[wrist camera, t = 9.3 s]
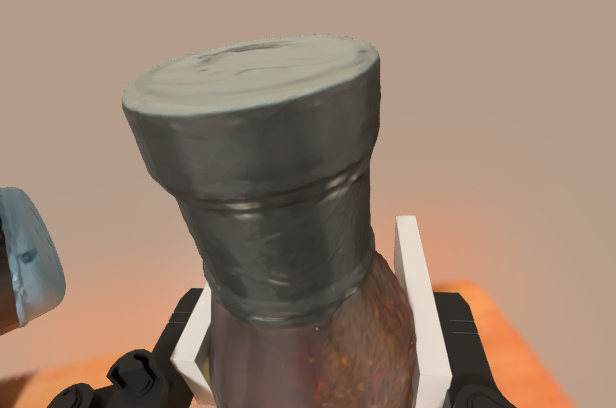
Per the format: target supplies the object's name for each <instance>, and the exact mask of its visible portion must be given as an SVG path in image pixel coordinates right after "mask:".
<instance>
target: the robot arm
mask: <svg viewBox="0 0 616 408" xmlns="http://www.w3.org/2000/svg"><path fill="white" fill-rule="evenodd" d="M394 268H395V276H396V277H397V278H398V281H399V283H400V286H401V287H402V288H403V290H404V291H405V292H406V295H407V298H408V301H409V304H410V307H411V309H412V311H413V317H414V323H415V334H416V337H417V342H416V352H417V361H416V364H415V372H414V376H413V378H412V386H413V406H412V408H517V407H515V406H514V405H513V404H511V403H510V402H509V401H508V400H507V399H506V398H505V397H504V396H503V395H502V394H501V392H500V391H499V389H498V388H497V386H496V384H495V382H494V379H493V376H492V373H491V370H490V367H489V364H488V361H487V358H486V355H485V352H484V349H483V346H482V343H481V340H480V337H479V335H478V331H477V328H476V325H475V323H474V319H473V316H472V313H471V310H470V307H469V305H468V304H467V302H466V301H465V300H464V299H463V298H462V296H461V295H460V294H459V293H445V292H433V291H432V287H431V283H430V278H429V274H428V270H427V266H426V261H425V257H424V252H423V248H422V244H421V240H420V235H419V231H418V227H417V222H416V218H415V216H396V227H395V250H394ZM65 289H66V284H65V278H64V273H63V269H62V266H61V263H60V260H59V257H58V254H57V251H56V249H55V246H54V244H53V241H52V239H51V237H50V235H49V232H48V230H47V228H46V226H45V224H44V222H43V220H42V218H41V216H40V214H39V212H38V211H37V209H36V207H35V206H34V204H33V203H32V201H31V199H30V198H29V197H28V196H27V194H26V193H25V192H24V191H23V190H21V189H19V188H15V187H7V188H0V335H3V334H5V333H7V332H9V331H12V330H14V329H16V328H18V327H19V328H21V327H24V326H25V325H26V324H27V323H28V322H29V321H31V320H33V319H35V318H37V317H38V316H41V315H42V314H44V313H46V312H48V311H50V310H52V309H54V308H55V307H56V306H58V305H59V304H60V303H61V301H62V300H63V297H64V295H65ZM210 344H211V289H210V287H209V285H208V282H207V283H206V285H205V287H204V288H203V289H202V288H191V289H190V290H189V291H188V292H187V293H186V294H185V295H184V296H183V297H182V298H181V299H180V301H179V303H178V305H177V307H176V308H175V310H174V313H173V314H172V316H171V318H170V319H169V323H168V324H167V325H166V327H165V329H164V331H163V332H162V334H161V336H160V338H159V340H158V342H157V344H156V345H155V347H154V349H153V351H152V353H151V352H149V351H147V350H145V349H138V350H133V351H131V352H128V353H126V354H125V355H123V356H122V357H121V358H119V359H118V360H117V361H116V362H115V363H114V364H113V365H112V367H111V368H110V370H109V372H108V374H107V376H106V377H107V378H108V379H109V380H110V381H111V382H112V383H113V384H114V385H110V386H107V387H103V388H99V389H96V390H94V389H93V388H92V387H91V386H90V385H89V384H85V383H79V384H74V385H72V386H70V387H68V388H66V389H64V390H63V391H62V392H61V393H59V394H58V395H57V396H56V397H55V398H54V399H53V400H52V401H51V403H50V404H49V405H48V406H47V408H189V407H190V404H191V401H192V399H193V396H194V397H195V399H196V401H197V402H198V404H204V405H216V403H215V400H214V396H213V392H212V387H211V382H210V376H209V351H210Z"/></svg>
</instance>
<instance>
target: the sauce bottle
mask: <svg viewBox="0 0 616 408" xmlns="http://www.w3.org/2000/svg"><path fill="white" fill-rule="evenodd" d="M380 88H381V87H380V57H379V54H378V51H377V50H376V49H375V47H373V46H372V45H371V44H370V43H368V42H366V41H363V40H361V41H360V40H359V41H358V40H354V39H353V38H349V37H346V36H335V35H305V36H287V37H280V38H264V39H260V40H256V41H250V42H244V43H240V44H233V45H229V46H225V47H221V48H217V49H213V50H208V51H203V52H198V53H195V54H188V55H185V56H182V57H179V58H176V59H173V60H169V61H167V62H164V63H162V64H160V65H157V66H155V67H152V68H151V69H149V70H147V71H146V72H144V73H143V74H141V75H140V76H138V77H137V78H135V79H134V80H133V81H132V82H130V83H129V84H128V86H127V87H126V89H125V90H124V93H123V97H122V108H123V111H124V113H125V116H126V118H127V120H128V123H129V125H130V127H131V129H132V132H133V134H134V136H135V139H136V143H137V145H138V147H139V150H140V153H141V155H142V158H143V160H144V162H145V165H146V168H147V170H148V173H149V174H150V175H151V177H152V178H153V179H154V180H155V181H157V182H158V183H159V184H160V185H161V186H162V187H163V188H164V189H165V190H166V191H167V192H169V193H170V194H171V195H173V196H174V197H175V198H176V200H177V202H178V205H179V208H180V211H181V213H182V216H183V218H184V220H185V222H186V224H187V226H188V229H189V232H190V234H191V235H192V236H193V238H194V240H195V243H196V246H197V248H198V251H199V254H200V255H201V257H202V259H203V270H204V276H205V278H206V280H207V282H208V285H209V287H210V289H211V344H210V351H209V376H210V382H211V387H212V392H213V396H214V400H215V403H216V406H217V408H412V406H413V386H412V378H413V376H414V372H415V364H416V361H417V352H416V342H417V337H416V334H415V323H414V317H413V311H412V309H411V307H410V304H409V301H408V298H407V295H406V292H405V291H404V290H403V288H402V287H401V286H400V283H399V281H398V278H397V277H396V276H395V275H394V274H393V272H392V271H391V269H390V267H389V265H388V263H387V261H386V260H385V259H384V258H383V257H382V255H381V254H379V253H377V251H375V239H374V233H373V229H372V227H371V225H370V159H371V155H372V152H373V148H374V145H375V143H376V140H377V136H378V132H379V127H380V118H379V117H380V100H381V92H380Z"/></svg>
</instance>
